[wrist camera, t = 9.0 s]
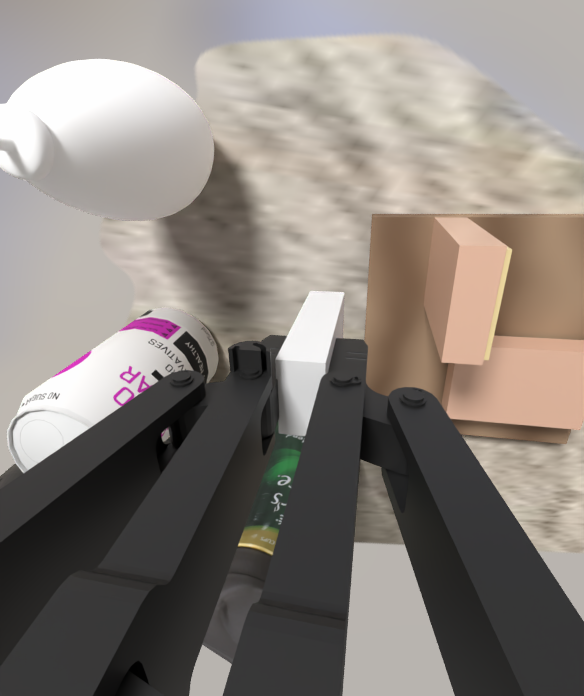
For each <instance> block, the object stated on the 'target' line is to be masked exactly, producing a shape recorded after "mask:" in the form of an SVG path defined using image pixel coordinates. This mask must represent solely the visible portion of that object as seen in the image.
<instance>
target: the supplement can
mask: <svg viewBox="0 0 584 696" xmlns="http://www.w3.org/2000/svg"><path fill="white" fill-rule="evenodd" d="M218 360H219V358H218V352H217V345H216V343H215V341H214V339H213V337H212V335H211V334H210V332H209V330H208V329H207V328H206V327H205V326H204V325H203V324H202V323H201V322H200V321H199V320H198V319H197V318H196V317H194V316H192V315H190V314H188V313H186V312H184V311H183V310H180V309H174V308H169V307H161V308H156V309H151V310H149V311H147V312H146V313H145V314H143V315H142V316H140V317H139V318H137V319H136V320H134V321H133V322H132V323H130V324H129V325H127V326H126V327H124V328H123V329H121V330H120V331H119V332H117V333H116V334H114V335H113V336H111V337H110V338H108V339H107V340H106V341H104V342H103V343H101V344H100V345H98V346H97V347H95V348H94V349H92V350H91V351H90V352H88V353H87V354H85V355H84V356H82V357H81V358H79V359H78V360H76V361H75V362H74V363H72V364H71V365H69V366H68V367H66V368H65V369H63V370H62V371H60V372H59V373H58V374H56V375H55V376H53V377H52V378H50V379H49V380H48V381H46V382H45V383H43V384H42V385H40V386H39V387H37V388H36V389H35V390H33V391H32V392H30V393H29V394H27V395H26V396H24V399H23V401H22V403H21V406H20V408H19V410H18V412H17V415H16V417H14V418H13V419H12V421H11V423H10V425H9V427H8V430H7V441H8V448H9V450H10V453H11V455H12V457H13V459H14V461H15V463H16V465H17V466H18V467H19V468H20V469H21V471H22V472H23V473H25V472H26V471H28V470H29V469H31V468H32V467H33V466H35V465H36V464H38V463H39V462H41V461H42V460H44V459H45V458H47V457H48V456H50V455H51V454H53V453H54V452H55V451H57V450H58V449H60V448H61V447H63V446H64V445H66V444H67V443H69V442H70V441H72V440H73V439H74V438H76V437H77V436H79V435H80V434H82V433H83V432H85V431H86V430H88V429H89V428H91V427H92V426H94V425H95V424H96V423H98V422H99V421H101V420H102V419H104V418H105V417H107V416H108V415H110V414H111V413H113V412H114V411H115V410H117V409H118V408H120V407H121V406H123V405H124V404H126V403H127V402H129V401H130V400H132V399H133V398H135V397H136V396H137V395H139V394H140V393H142V392H143V391H145V390H146V389H148V388H149V387H151V386H152V385H154V384H155V383H156V382H158V381H159V380H161V379H162V378H164V377H165V376H167V375H169V374H171V373H174V372H178V371H180V370H183V371H184V370H191V371H197V372H199V373H201V374H202V375H203V376H204V382H205V383H209V381H210V380H211V378H212V377H213V376H214V374H215V373H216V369H217V365H218ZM169 436H170V435H169V430H168V428H167V429H166V430H164V431H163V432H162V433H161V437H162V441H163V442H164V441H166V440H167V438H168V437H169Z"/></svg>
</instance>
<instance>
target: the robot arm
mask: <svg viewBox="0 0 584 696" xmlns="http://www.w3.org/2000/svg"><path fill="white" fill-rule="evenodd" d="M344 293H345V292H324V291H310V293H309V295H308V297H307V299H306V301H305V302H304V304H303V306H302V308H301V310H300V312H299V314H298V316H297V318H296V320H295V322H294V324H293V326H292V328H291V330H290V332H289V334H288V336H278V335H270V336H268V337H267V338H265V339H264V340H262V341H261V342H259V341H245V342H239V343H237V344H234V345H232V346H231V347H230V348H228V352H229V362H230V371H231V372H230V374H229V375H228V377H227V378H226V380H225V381H222V382H214V383H205V382H204V376H203V375H202V374H201V373H199V372H197V371H191V370H184V371H183V370H180V371H178V372H174V373H171V374H169V375H167V376H165V377H164V378H162V379H161V380H159V381H158V382H156V383H155V384H154V385H152V386H151V387H149V388H148V389H146V390H145V391H143V392H142V393H140V394H139V395H137V396H136V397H135V398H133V399H132V400H130V401H129V402H127V403H126V404H124V405H123V406H121V407H120V408H118V409H117V410H115V411H114V412H113V413H111V414H110V415H108V416H107V417H105V418H104V419H102V420H101V421H99V422H98V423H96V424H95V425H94V426H92V427H91V428H89V429H88V430H86V431H85V432H83V433H82V434H80V435H79V436H77V437H76V438H74V439H73V440H72V441H70V442H69V443H67V444H66V445H64V446H63V447H61V448H60V449H58V450H57V451H55V452H54V453H53V454H51V455H50V456H48V457H47V458H45V459H44V460H42V461H41V462H39V463H38V464H36V465H35V466H33V467H32V468H31V469H29V470H28V471H26V472H25V473H23V472H22V471H21V469H20V468H19V467H18V466H17V465H16V464H14V465H13V466H12V467H11V468H9V469H8V470H7V471H6V472H5V473H4V474H2V475H1V476H0V696H189V691H190V681H191V677H192V672H193V669H194V666H195V663H196V660H197V657H198V655H199V652H200V649H201V646H202V643H203V641H204V638H205V635H206V632H207V630H208V627H209V624H210V621H211V619H212V616H213V613H214V610H215V608H216V605H217V602H218V599H219V597H220V594H221V591H222V588H223V586H224V583H225V580H226V577H227V575H228V572H229V569H230V566H231V563H232V561H233V558H234V555H235V552H236V550H237V547H238V544H239V541H240V539H241V536H242V533H243V530H244V528H245V525H246V522H247V519H248V517H249V514H250V511H251V508H252V506H253V503H254V500H255V497H256V495H257V492H258V489H259V486H260V483H261V481H262V478H263V475H264V472H265V470H266V467H267V464H268V461H269V459H270V456H271V453H272V450H273V448H274V445H275V428H276V425H277V422H278V426H279V433H280V434H289V435H298V436H305V439H304V442H303V446H302V449H301V453H300V457H299V460H298V464H297V468H296V471H295V475H294V478H293V482H292V486H291V489H290V493H289V497H288V500H287V504H286V508H285V511H284V515H283V518H282V522H281V526H280V529H279V533H278V537H277V540H276V544H275V547H274V551H273V555H272V558H271V562H270V566H269V569H268V573H267V576H266V580H265V584H264V587H263V591H262V594H261V597H260V599H259V601H258V602H256V603H253V604H252V606H251V607H250V609H249V611H248V614H247V617H246V619H245V622H244V625H243V629H242V632H241V635H240V639H239V642H238V645H237V649H236V652H235V656H234V659H233V662H232V666H231V669H230V672H229V676H228V679H227V683H226V686H225V689H224V693H223V696H342V692H343V679H344V678H343V677H344V665H345V653H346V638H347V626H348V612H349V599H350V587H351V572H352V561H353V547H354V535H355V522H356V509H357V496H358V483H359V472H360V459H361V460H364V461H367V462H369V463H372V464H375V465H377V466H380V467H382V476H383V479H384V482H385V485H386V488H387V491H388V495H389V498H390V501H391V504H392V507H393V510H394V513H395V516H396V519H397V522H398V525H399V528H400V531H401V534H402V537H403V540H404V543H405V546H406V549H407V552H408V555H409V558H410V561H411V564H412V567H413V570H414V573H415V576H416V579H417V582H418V585H419V588H420V591H421V594H422V597H423V600H424V603H425V607H426V609H427V613H428V615H429V618H430V622H431V625H432V628H433V631H434V634H435V637H436V640H437V643H438V645H439V649H440V652H441V655H442V658H443V660H444V664H445V667H446V670H447V673H448V676H449V679H450V682H451V685H452V688H453V691H454V694H455V696H584V621H583V620H582V618H581V617H580V615H579V614H578V612H577V611H576V609H575V608H574V606H573V605H572V603H571V602H570V600H569V599H568V597H567V596H566V594H565V593H564V591H563V589H562V588H561V586H560V585H559V583H558V582H557V580H556V579H555V577H554V576H553V574H552V573H551V571H550V570H549V569H548V567H547V565H546V564H545V562H544V561H543V559H542V558H541V556H540V555H539V553H538V551H537V550H536V548H535V547H534V545H533V544H532V542H531V541H530V539H529V538H528V536H527V535H526V533H525V532H524V530H523V529H522V527H521V526H520V524H519V523H518V521H517V519H516V518H515V516H514V515H513V513H512V512H511V510H510V509H509V507H508V506H507V504H506V503H505V501H504V500H503V498H502V497H501V495H500V494H499V492H498V491H497V489H496V488H495V486H494V484H493V483H492V481H491V480H490V478H489V477H488V475H487V474H486V472H485V471H484V469H483V468H482V466H481V465H480V463H479V462H478V460H477V459H476V457H475V456H474V454H473V453H472V451H471V449H470V448H469V446H468V445H467V443H466V442H465V440H464V439H463V437H462V436H461V434H460V433H459V431H458V430H457V428H456V427H455V425H454V424H453V422H452V421H451V419H450V418H449V416H448V415H447V413H446V411H445V410H444V408H443V407H442V405H441V404H440V402H439V401H438V399H437V398H436V397H435V396H434V395H433V394H431V393H430V392H428V391H426V390H423V389H420V388H416V387H403V388H397V389H395V390H393V391H391V393H390V394H389V396H385V395H382V394H379V393H377V392H375V391H373V390H372V389H370V388H369V387H368V385H367V384H366V372H367V356H368V345H367V344H366V343H365V342H364V340H359V339H343V322H344ZM167 428H168V430H169V435H170V437H169V438H168V439H167V440H166V441H164V442H163V441H162V437H161V433H162V432H163V431H164V430H166V429H167Z"/></svg>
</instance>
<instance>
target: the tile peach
mask: <svg viewBox="0 0 584 696" xmlns="http://www.w3.org/2000/svg"><path fill="white" fill-rule="evenodd" d="M511 254H512V249H511V248H509V247H508V246H507V245H505V244H504V243H502V242H501V241H499V240H498V239H497V238H495V237H494V236H492V235H491V234H490V233H488V232H487V231H485V230H484V229H483V228H481V227H480V226H478V225H477V224H476V223H474V222H473V221H471V220H470V219H468V218H467V217H434V225H433V233H432V241H431V249H430V257H429V265H428V273H427V281H426V289H425V296H424V304H423V305H424V308H425V311H426V314H427V318H428V321H429V324H430V327H431V330H432V334H433V337H434V340H435V343H436V347H437V350H438V353H439V356H440V360H441V363H457V364H472V365H483V361H484V360H489V356H490V352H491V347H492V342H493V338H494V333H495V328H496V324H497V319H498V314H499V310H500V305H501V300H502V296H503V291H504V286H505V282H506V277H507V272H508V268H509V263H510V258H511Z"/></svg>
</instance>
